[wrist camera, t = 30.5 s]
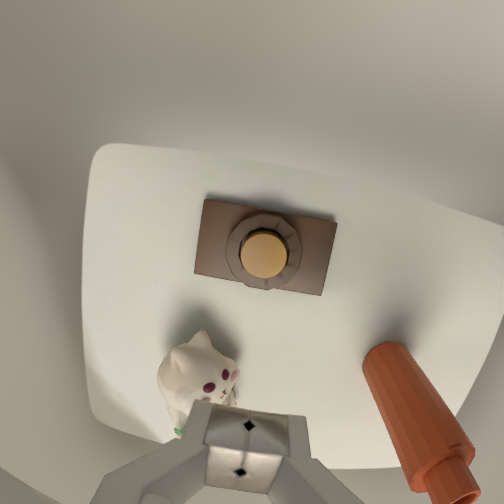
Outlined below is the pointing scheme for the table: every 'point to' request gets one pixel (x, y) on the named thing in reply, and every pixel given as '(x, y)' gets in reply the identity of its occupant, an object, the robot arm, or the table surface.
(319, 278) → the brown button base
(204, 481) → the robot arm
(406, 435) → the orange bottle
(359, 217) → the table surface
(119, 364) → the table surface
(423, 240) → the table surface
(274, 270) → the button
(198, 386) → the cat figurine
